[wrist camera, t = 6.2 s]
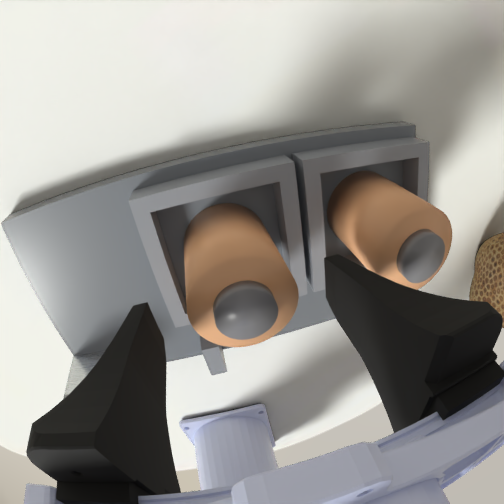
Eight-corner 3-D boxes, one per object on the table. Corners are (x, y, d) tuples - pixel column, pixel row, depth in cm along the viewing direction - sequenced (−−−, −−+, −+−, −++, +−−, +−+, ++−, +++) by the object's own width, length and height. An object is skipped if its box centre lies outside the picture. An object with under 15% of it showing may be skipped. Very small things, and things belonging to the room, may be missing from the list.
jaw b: (274, 262, 18) (311, 335, 13) (200, 287, 18) (211, 369, 13) (254, 191, 16) (291, 247, 11) (171, 220, 16) (167, 290, 11)
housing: (396, 285, 23) (419, 310, 20) (90, 363, 21) (84, 396, 18) (403, 121, 17) (437, 131, 14) (9, 214, 15) (-16, 239, 12)
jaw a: (390, 232, 19) (451, 285, 14) (328, 249, 19) (380, 313, 13) (392, 165, 17) (465, 204, 12) (324, 177, 16) (387, 224, 11)
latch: (122, 368, 20) (118, 414, 17) (87, 373, 20) (79, 418, 16) (110, 348, 19) (103, 396, 16) (73, 355, 19) (62, 401, 15)
